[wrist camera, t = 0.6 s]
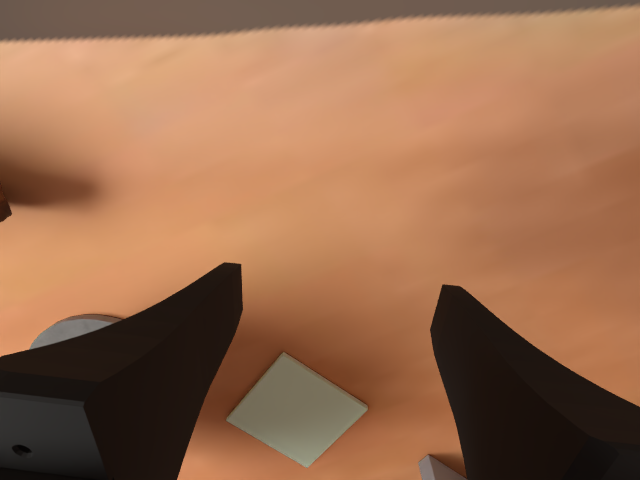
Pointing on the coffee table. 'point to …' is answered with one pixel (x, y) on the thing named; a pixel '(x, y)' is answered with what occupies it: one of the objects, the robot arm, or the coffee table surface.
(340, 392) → the pad
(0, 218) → the wooden carving
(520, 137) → the coffee table surface
